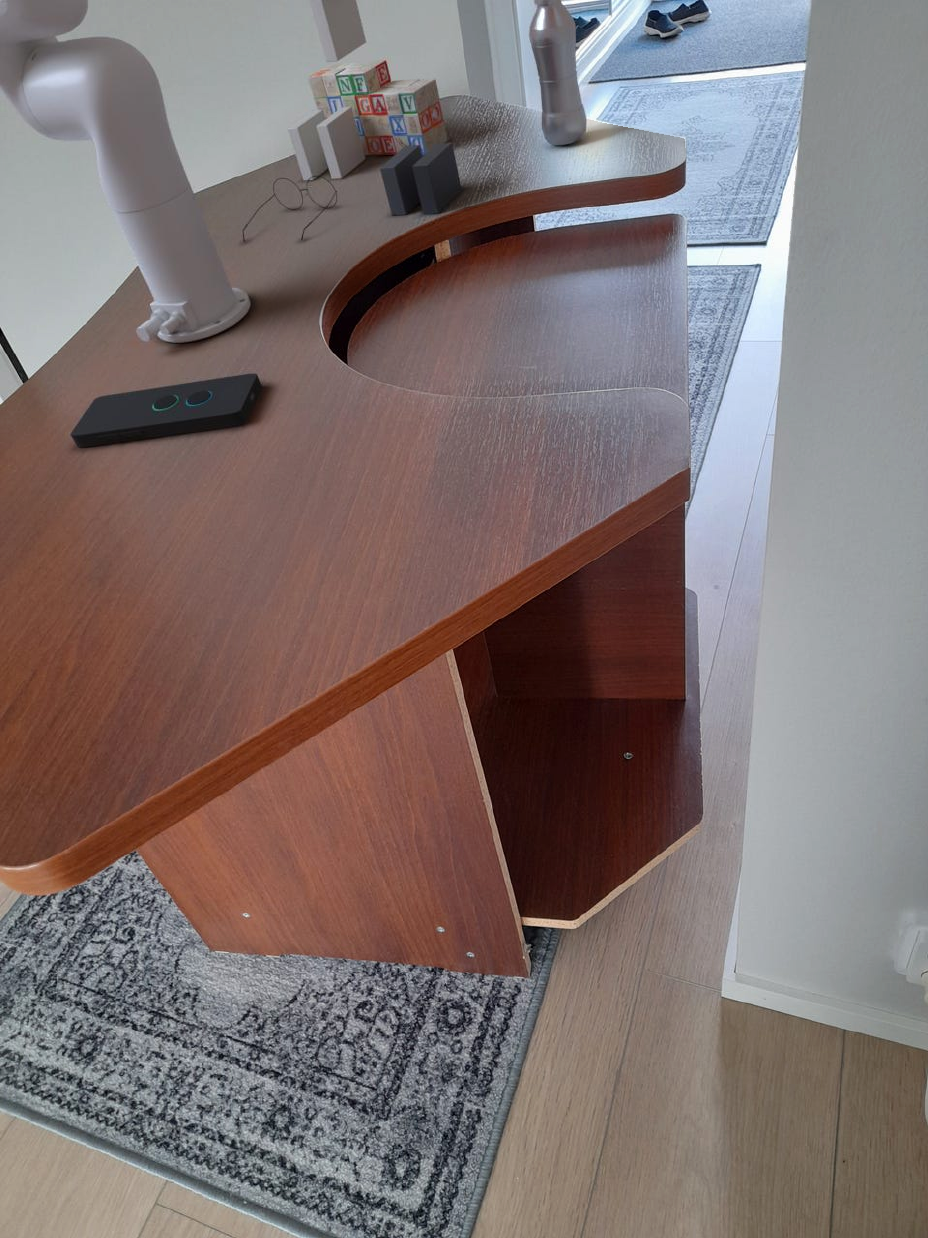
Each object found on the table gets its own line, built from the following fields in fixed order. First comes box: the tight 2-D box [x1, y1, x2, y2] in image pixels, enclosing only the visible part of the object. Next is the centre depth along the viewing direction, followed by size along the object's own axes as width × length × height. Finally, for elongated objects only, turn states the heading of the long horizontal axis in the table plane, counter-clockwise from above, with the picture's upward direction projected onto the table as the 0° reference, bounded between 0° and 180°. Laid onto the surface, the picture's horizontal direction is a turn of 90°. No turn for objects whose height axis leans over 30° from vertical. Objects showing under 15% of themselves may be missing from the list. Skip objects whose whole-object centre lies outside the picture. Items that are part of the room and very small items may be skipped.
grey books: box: [379, 141, 463, 216], centre depth 127 cm, size 8×8×6 cm
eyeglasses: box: [242, 175, 338, 243], centre depth 132 cm, size 11×13×5 cm
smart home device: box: [70, 373, 263, 448], centre depth 98 cm, size 8×2×20 cm
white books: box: [287, 107, 366, 181], centre depth 146 cm, size 8×8×8 cm
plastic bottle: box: [528, 0, 588, 146], centre depth 128 cm, size 6×7×20 cm
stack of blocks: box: [307, 59, 448, 156], centre depth 147 cm, size 21×6×12 cm, turn 55°
